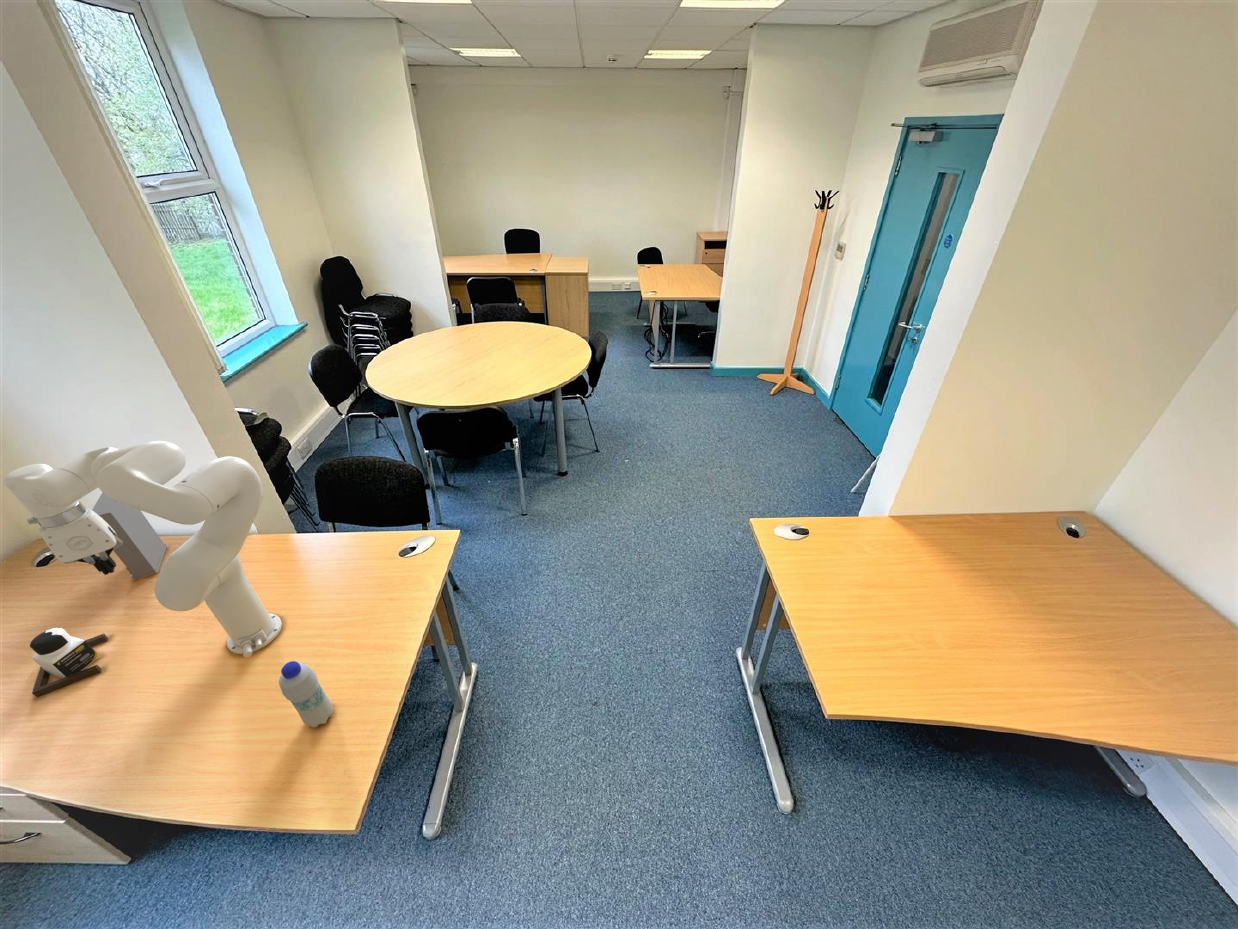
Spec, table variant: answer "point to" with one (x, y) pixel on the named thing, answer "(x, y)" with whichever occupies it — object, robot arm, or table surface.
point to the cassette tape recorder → (132, 537)
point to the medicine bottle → (62, 652)
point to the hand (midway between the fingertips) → (110, 570)
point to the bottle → (305, 693)
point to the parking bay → (43, 676)
